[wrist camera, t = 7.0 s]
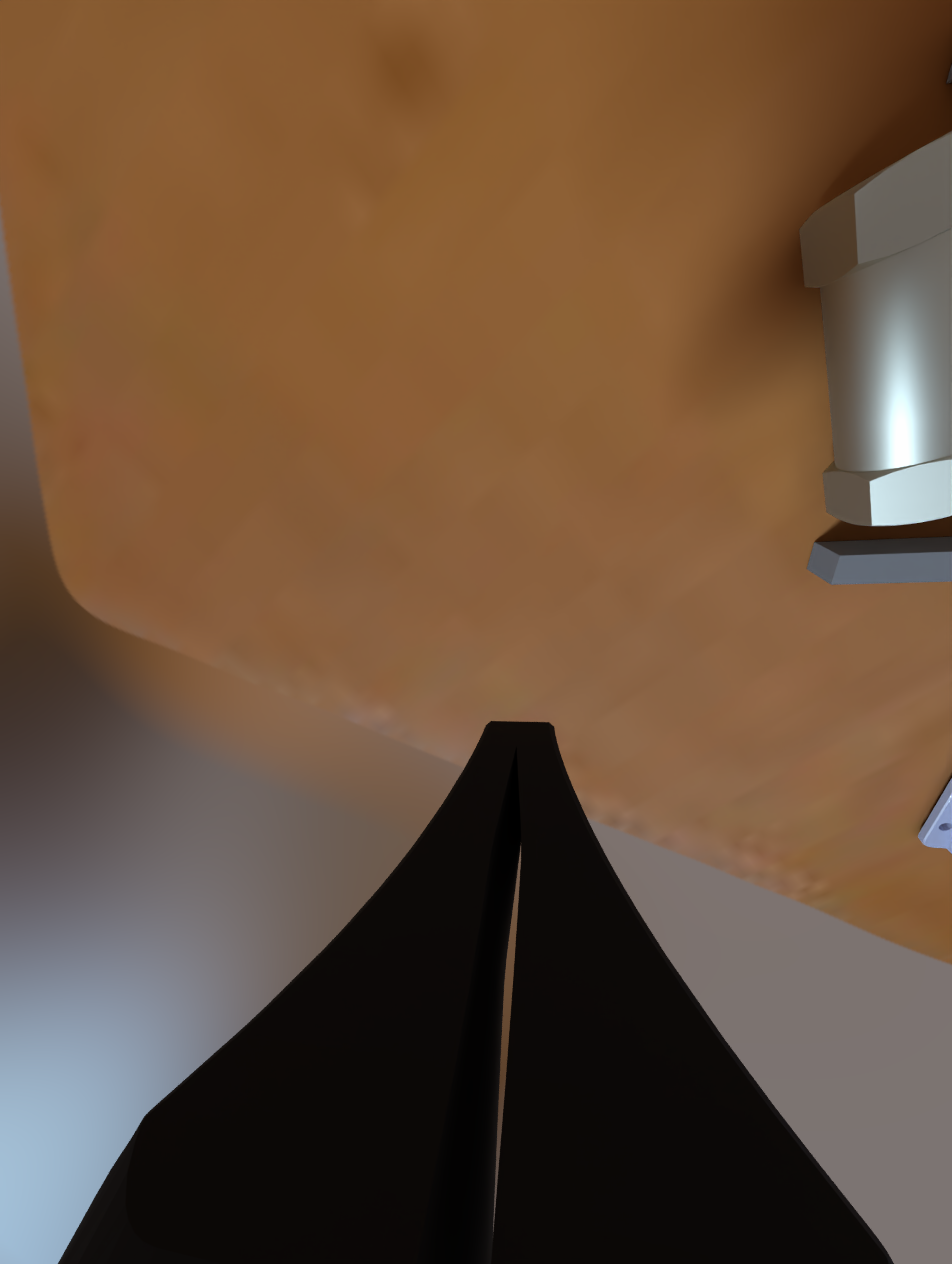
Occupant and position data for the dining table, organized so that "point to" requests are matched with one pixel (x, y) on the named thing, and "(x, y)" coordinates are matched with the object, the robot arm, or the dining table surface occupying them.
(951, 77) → the grey-green knobbed block
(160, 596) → the dining table surface
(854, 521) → the pipe fitting
